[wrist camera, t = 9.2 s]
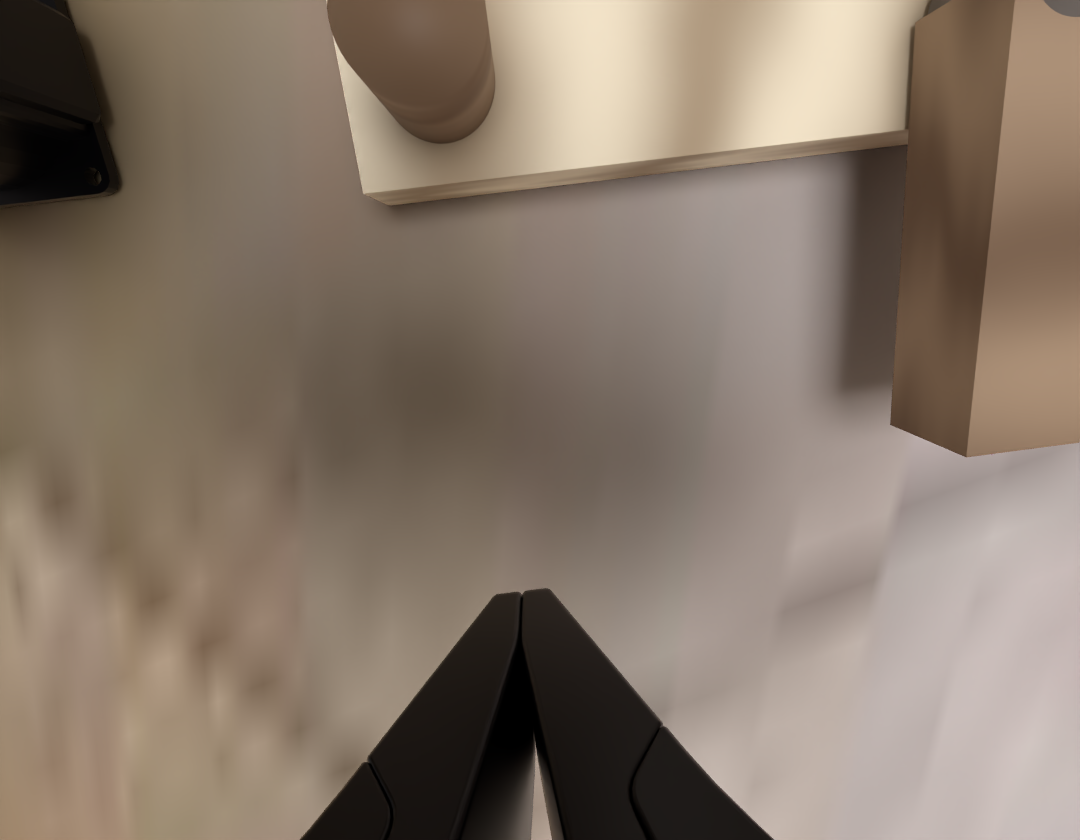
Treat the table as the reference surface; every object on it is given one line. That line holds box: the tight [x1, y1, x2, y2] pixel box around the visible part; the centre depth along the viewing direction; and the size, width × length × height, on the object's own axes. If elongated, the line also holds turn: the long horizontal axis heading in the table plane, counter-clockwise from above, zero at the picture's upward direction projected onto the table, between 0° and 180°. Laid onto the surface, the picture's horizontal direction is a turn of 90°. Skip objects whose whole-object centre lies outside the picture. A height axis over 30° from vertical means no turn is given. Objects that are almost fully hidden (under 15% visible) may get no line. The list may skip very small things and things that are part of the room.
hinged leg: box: [890, 0, 1080, 457], centre depth 14 cm, size 12×3×3 cm, turn 7°
